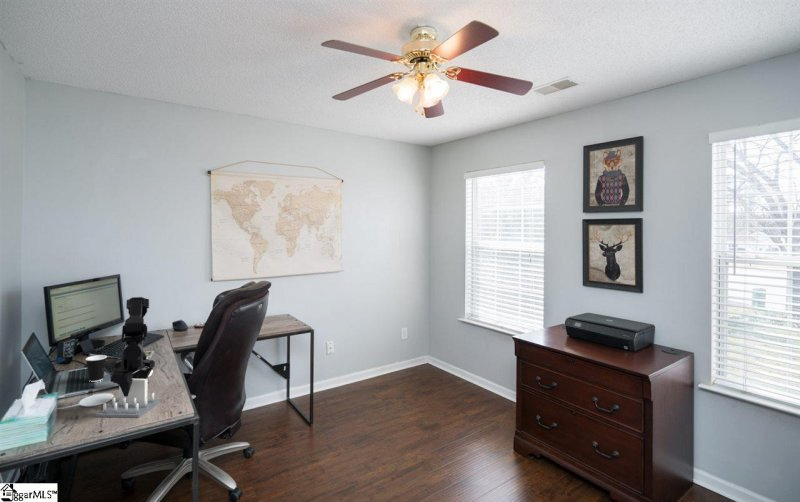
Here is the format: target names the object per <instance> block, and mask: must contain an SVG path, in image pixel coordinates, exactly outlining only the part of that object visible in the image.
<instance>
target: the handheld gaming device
mask: <svg viewBox="0 0 800 502" xmlns="http://www.w3.org/2000/svg"><path fill="white" fill-rule="evenodd" d="M144 352H145V353H146V354H147V359H148V360H149V359H151V358H152V356H153V355H154V353H155V350H149V351H148V350H147V351H145V350H144Z"/></svg>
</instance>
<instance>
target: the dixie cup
mask: <svg viewBox="0 0 800 502" xmlns="http://www.w3.org/2000/svg"><path fill="white" fill-rule="evenodd" d="M107 358H108V356H107V355H105V354H97V355H96V354H95V355H92V356H88V357H86V358H85V362H86V369H87V377H88V381H89V382H90V381H91V382H97V381H100V382H102V381H103V379H104V376H105V370H106V368H105V363H106V361H107ZM101 380H102V381H101ZM97 383H98V382H97Z"/></svg>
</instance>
